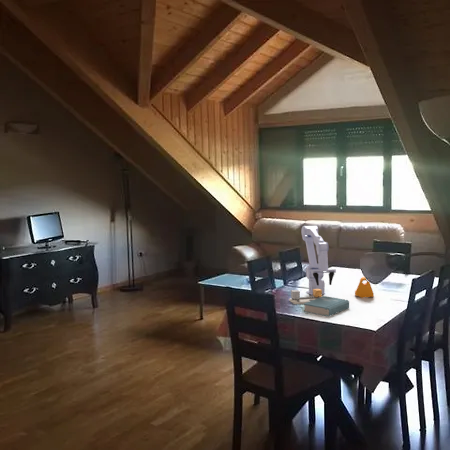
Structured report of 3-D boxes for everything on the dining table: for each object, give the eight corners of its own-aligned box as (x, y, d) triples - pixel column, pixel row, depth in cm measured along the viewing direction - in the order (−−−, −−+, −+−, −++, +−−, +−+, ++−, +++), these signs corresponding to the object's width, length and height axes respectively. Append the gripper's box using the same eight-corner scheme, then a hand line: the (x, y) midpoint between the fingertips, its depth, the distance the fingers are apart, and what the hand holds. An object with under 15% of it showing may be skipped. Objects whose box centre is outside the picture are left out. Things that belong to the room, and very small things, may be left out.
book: (324, 304, 323) (324, 296, 323) (349, 308, 313) (349, 300, 313) (303, 312, 306) (303, 303, 305) (329, 317, 296) (329, 308, 295)
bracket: (372, 295, 344) (373, 276, 343) (373, 298, 337) (374, 278, 335) (354, 294, 346) (355, 275, 345) (355, 297, 339) (355, 278, 337)
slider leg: (319, 296, 334) (319, 288, 334) (323, 299, 327) (323, 291, 327) (312, 296, 333) (312, 289, 333) (317, 299, 326) (317, 291, 326)
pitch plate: (323, 298, 335) (323, 288, 335) (329, 302, 327) (329, 291, 326) (289, 300, 330) (289, 290, 330) (294, 304, 322) (294, 293, 321)
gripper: (312, 262, 327) (313, 285, 326) (336, 262, 328) (337, 284, 327) (310, 262, 334) (311, 285, 333) (333, 262, 335) (334, 284, 334)
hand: (324, 285), depth 331 cm, fingers open, 7 cm apart
